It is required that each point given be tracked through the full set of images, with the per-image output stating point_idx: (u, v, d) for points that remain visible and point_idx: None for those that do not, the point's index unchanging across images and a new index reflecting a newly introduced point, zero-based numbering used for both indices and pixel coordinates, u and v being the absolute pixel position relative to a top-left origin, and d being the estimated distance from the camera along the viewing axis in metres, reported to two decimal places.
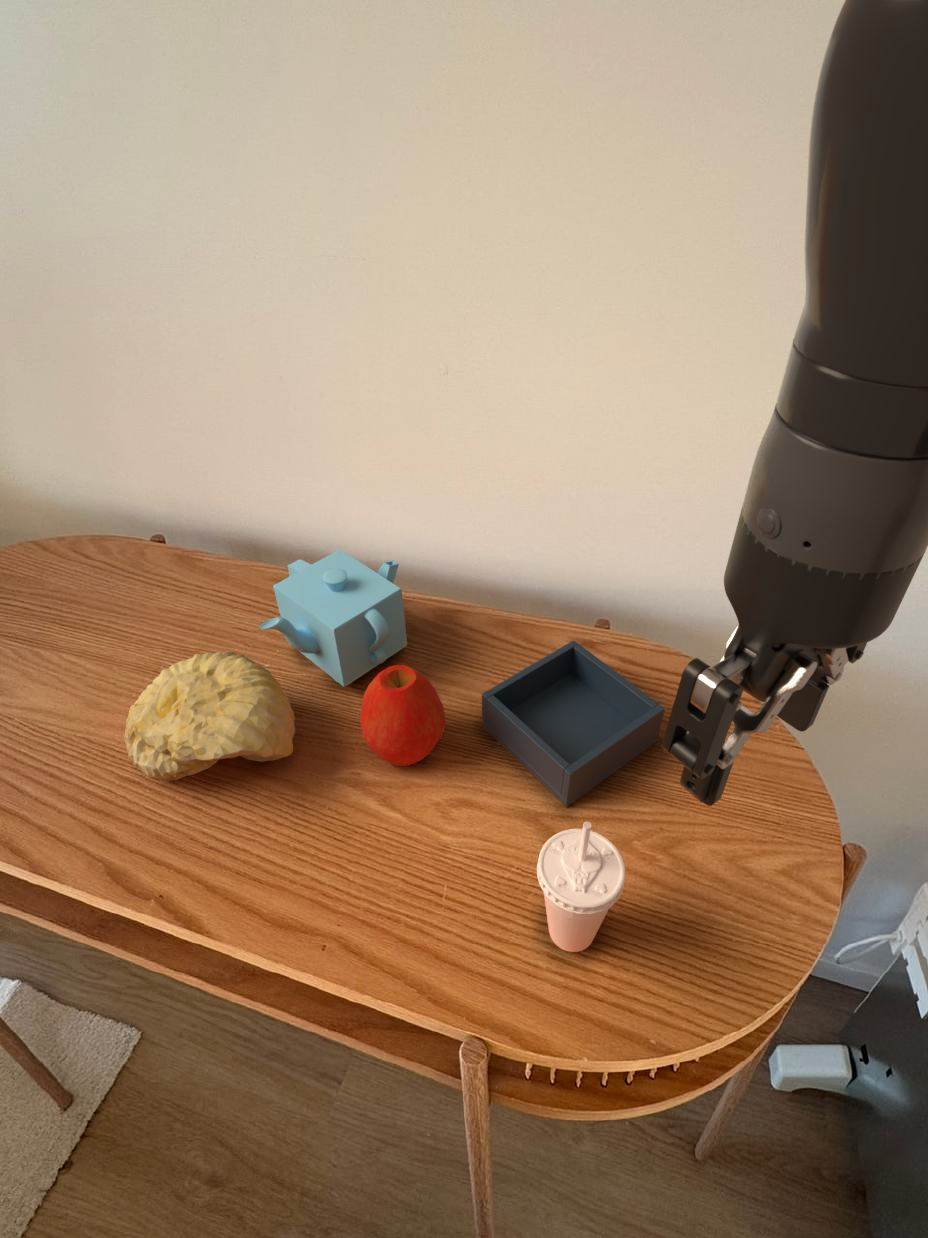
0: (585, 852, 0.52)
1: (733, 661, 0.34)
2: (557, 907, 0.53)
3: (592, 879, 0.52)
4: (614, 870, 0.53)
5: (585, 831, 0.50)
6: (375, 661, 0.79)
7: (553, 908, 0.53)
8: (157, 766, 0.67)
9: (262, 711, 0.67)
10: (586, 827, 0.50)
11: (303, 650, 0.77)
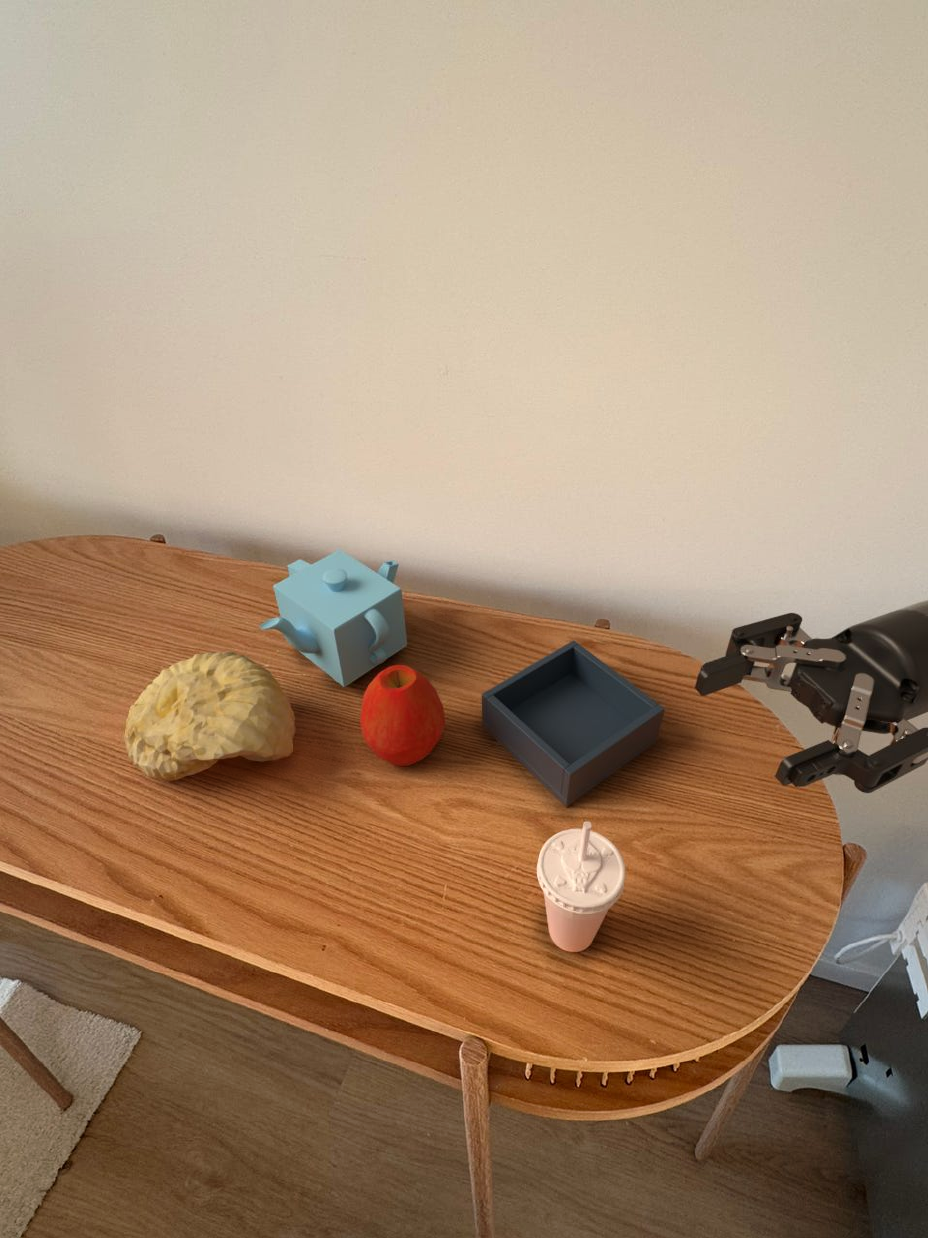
0: (585, 852, 0.52)
1: None
2: (557, 907, 0.53)
3: (592, 879, 0.52)
4: (614, 870, 0.53)
5: (585, 831, 0.50)
6: (375, 661, 0.79)
7: (553, 908, 0.53)
8: (157, 766, 0.67)
9: (262, 711, 0.67)
10: (586, 827, 0.50)
11: (303, 650, 0.77)
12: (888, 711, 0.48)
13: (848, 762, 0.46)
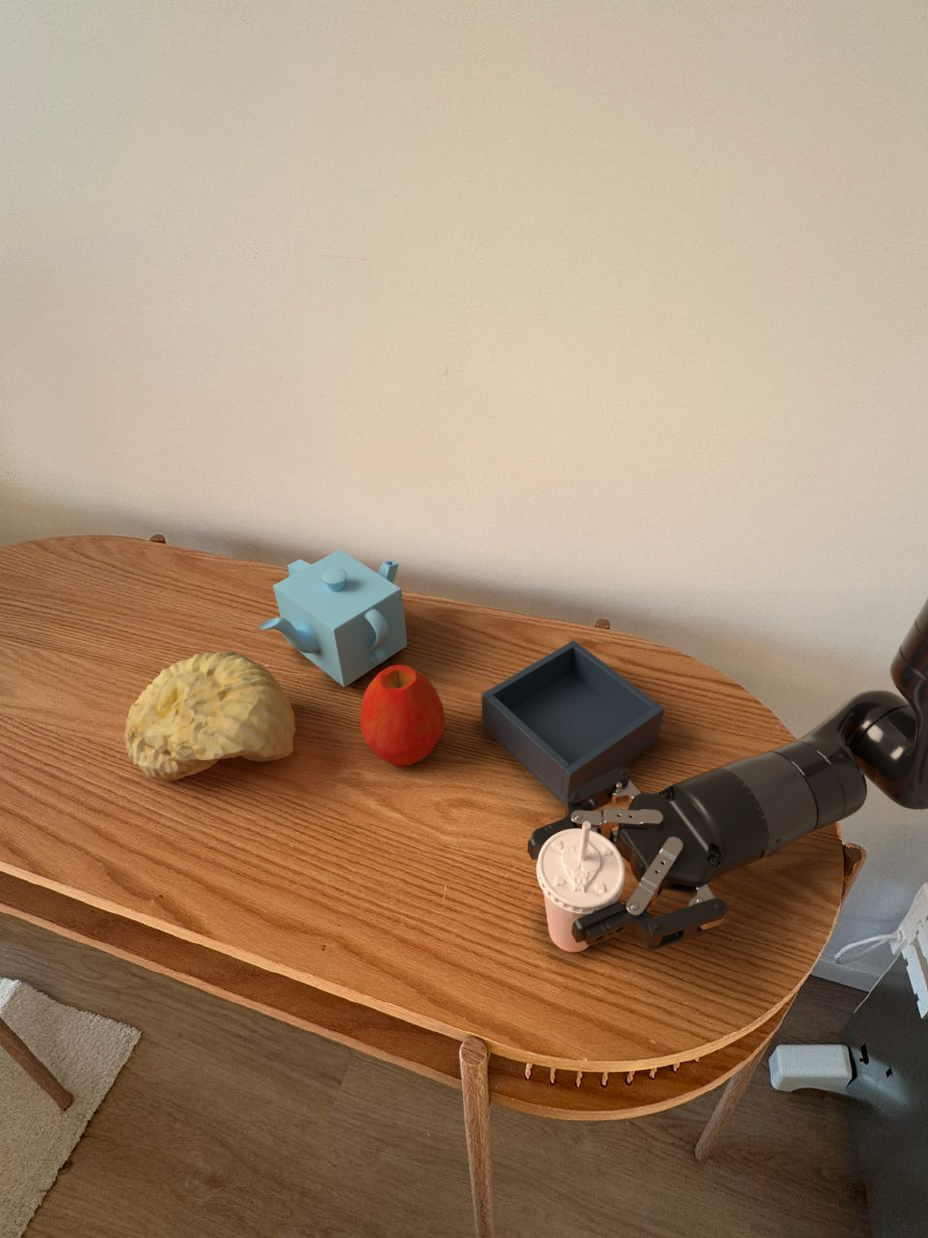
0: (585, 852, 0.52)
1: None
2: (557, 907, 0.53)
3: (591, 879, 0.52)
4: (614, 870, 0.53)
5: (584, 831, 0.50)
6: (375, 661, 0.79)
7: (553, 908, 0.53)
8: (157, 766, 0.67)
9: (262, 711, 0.67)
10: (586, 826, 0.50)
11: (303, 650, 0.77)
12: (693, 876, 0.53)
13: (632, 923, 0.51)
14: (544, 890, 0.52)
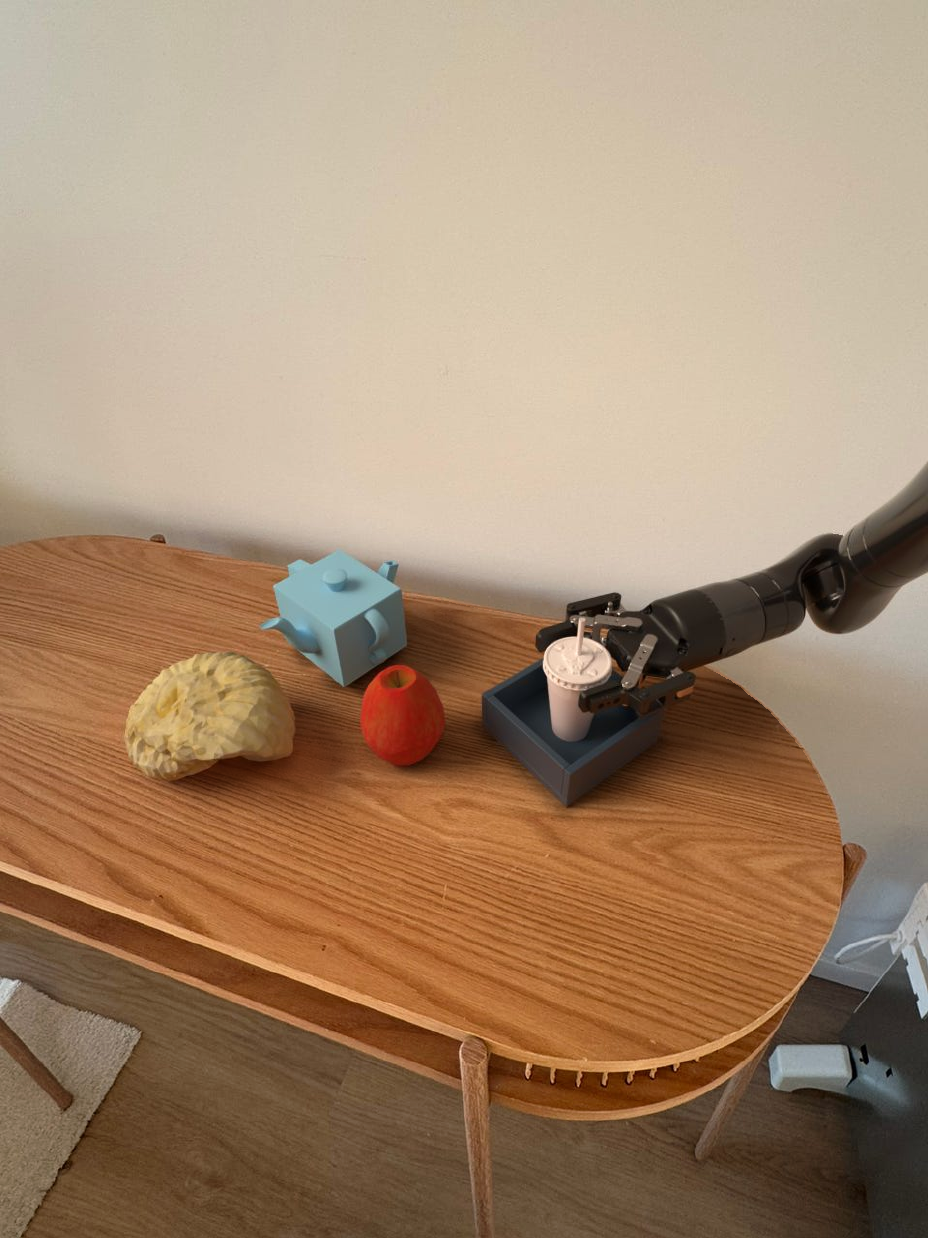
0: (580, 646, 0.67)
1: None
2: (558, 690, 0.67)
3: (586, 667, 0.67)
4: (603, 661, 0.67)
5: (580, 624, 0.65)
6: (375, 661, 0.79)
7: (555, 693, 0.68)
8: (157, 766, 0.67)
9: (262, 711, 0.67)
10: (581, 621, 0.65)
11: (303, 650, 0.77)
12: (665, 661, 0.67)
13: (627, 695, 0.64)
14: (549, 676, 0.67)
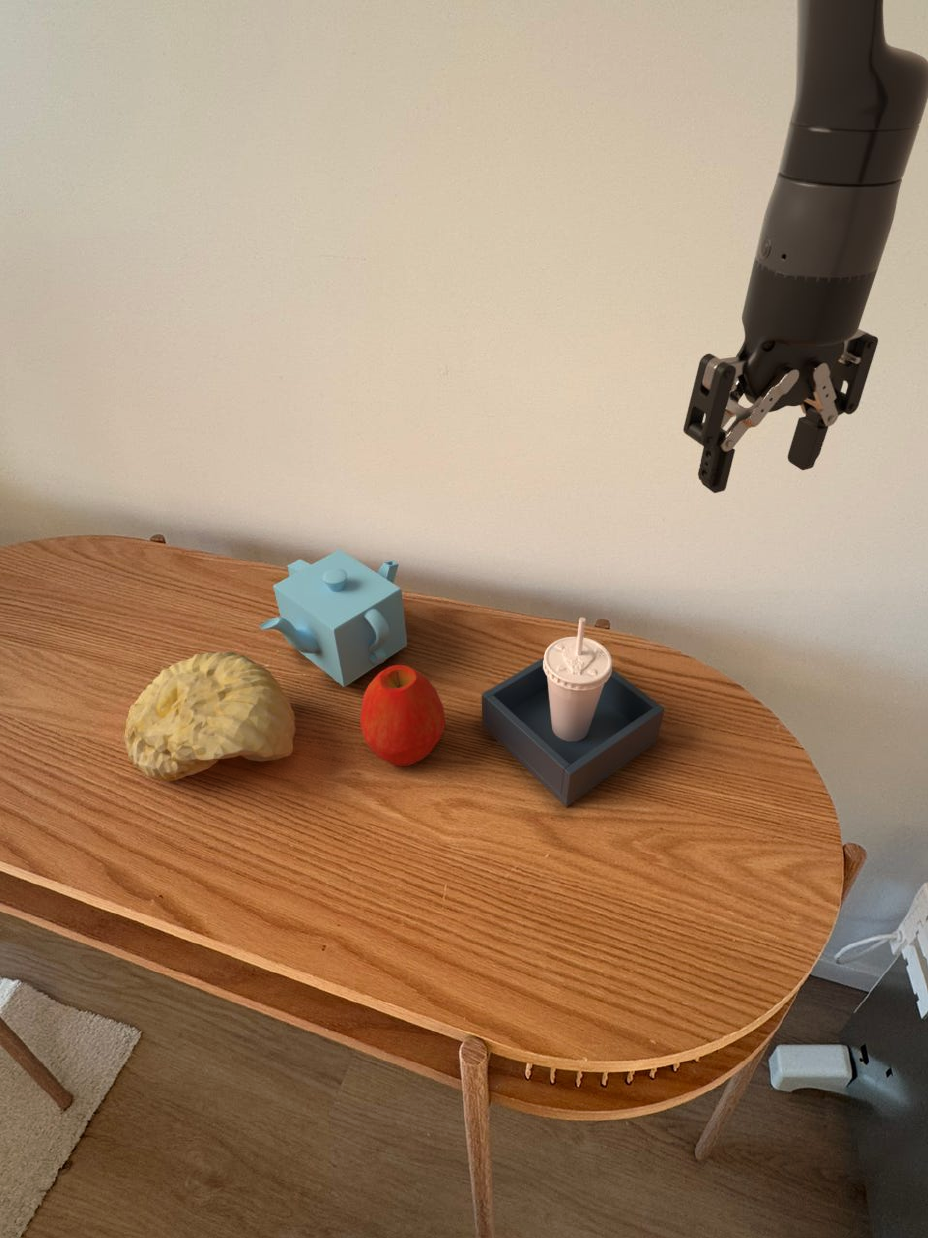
0: (581, 646, 0.67)
1: (736, 358, 0.50)
2: (559, 690, 0.67)
3: (586, 666, 0.67)
4: (603, 661, 0.67)
5: (580, 624, 0.65)
6: (375, 661, 0.79)
7: (555, 693, 0.68)
8: (157, 766, 0.67)
9: (262, 711, 0.67)
10: (582, 621, 0.65)
11: (303, 650, 0.77)
12: (837, 360, 0.52)
13: None
14: (549, 676, 0.67)
